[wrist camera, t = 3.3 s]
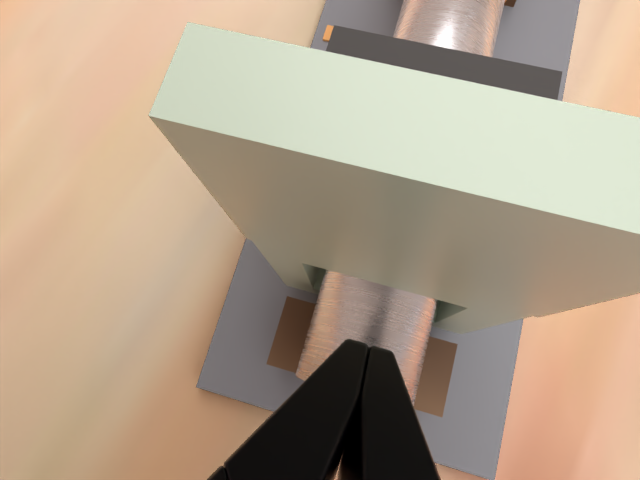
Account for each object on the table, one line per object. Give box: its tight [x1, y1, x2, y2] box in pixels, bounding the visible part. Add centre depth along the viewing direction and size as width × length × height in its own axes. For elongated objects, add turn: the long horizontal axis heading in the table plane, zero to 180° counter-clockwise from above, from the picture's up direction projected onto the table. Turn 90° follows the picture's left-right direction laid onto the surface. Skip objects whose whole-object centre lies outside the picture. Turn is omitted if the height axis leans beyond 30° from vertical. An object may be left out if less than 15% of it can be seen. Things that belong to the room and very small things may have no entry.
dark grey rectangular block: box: [326, 25, 562, 100], centre depth 13 cm, size 1×5×5 cm, turn 74°
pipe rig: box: [196, 0, 580, 480], centre depth 15 cm, size 21×10×6 cm, turn 164°
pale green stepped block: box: [149, 22, 640, 334], centre depth 10 cm, size 4×6×11 cm, turn 74°
